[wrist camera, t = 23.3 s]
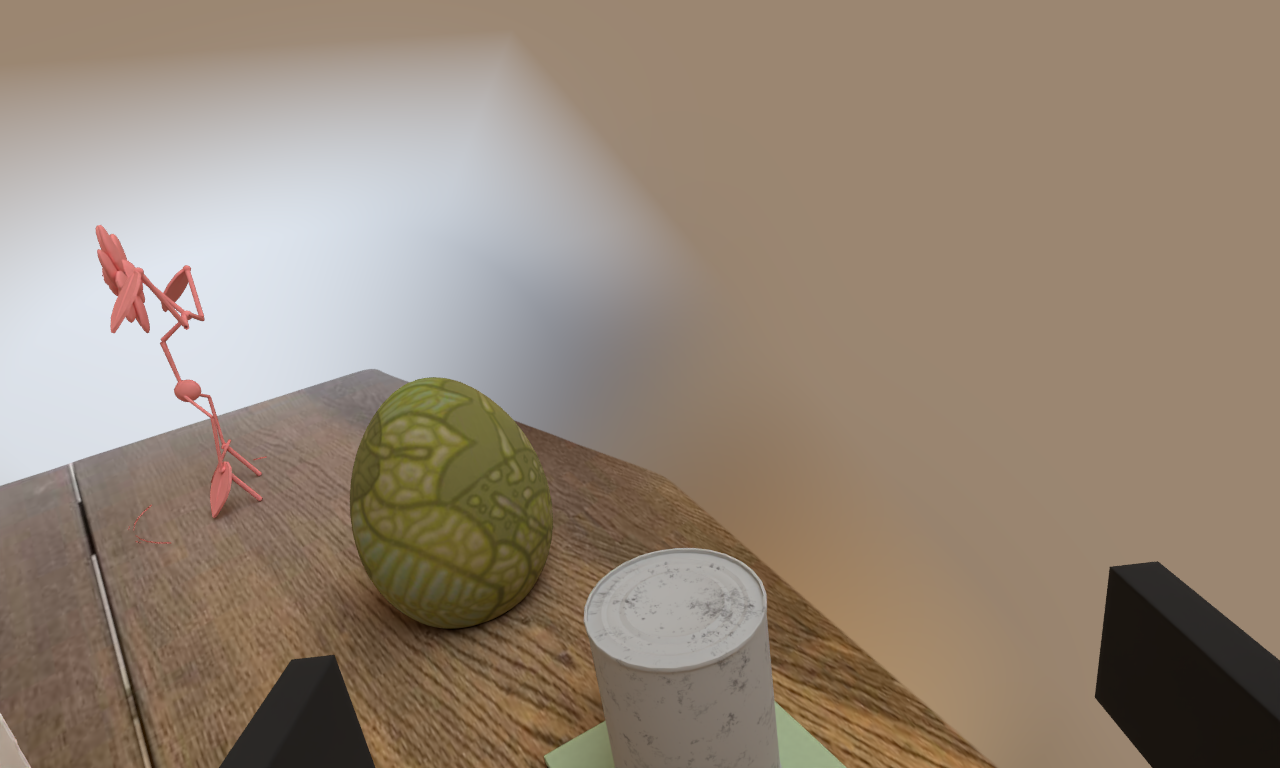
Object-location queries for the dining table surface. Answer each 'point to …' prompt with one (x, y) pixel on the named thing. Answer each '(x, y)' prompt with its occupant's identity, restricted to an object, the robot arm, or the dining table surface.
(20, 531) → the dining table surface
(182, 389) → the figurine
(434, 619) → the decorative sculpture
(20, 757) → the container
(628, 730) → the grey speckled cylinder
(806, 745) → the mat
